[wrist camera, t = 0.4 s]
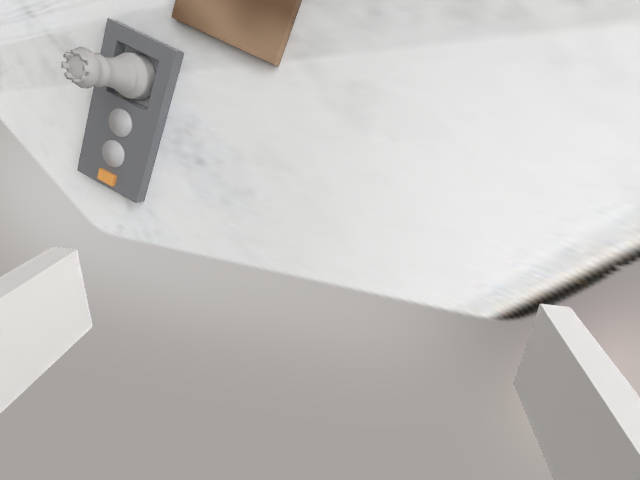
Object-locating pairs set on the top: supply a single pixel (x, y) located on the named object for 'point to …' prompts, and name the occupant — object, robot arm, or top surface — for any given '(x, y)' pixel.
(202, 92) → the top surface
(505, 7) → the top surface
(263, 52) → the walnut pad
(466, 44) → the top surface
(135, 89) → the rook chess piece
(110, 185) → the gray slotted board
